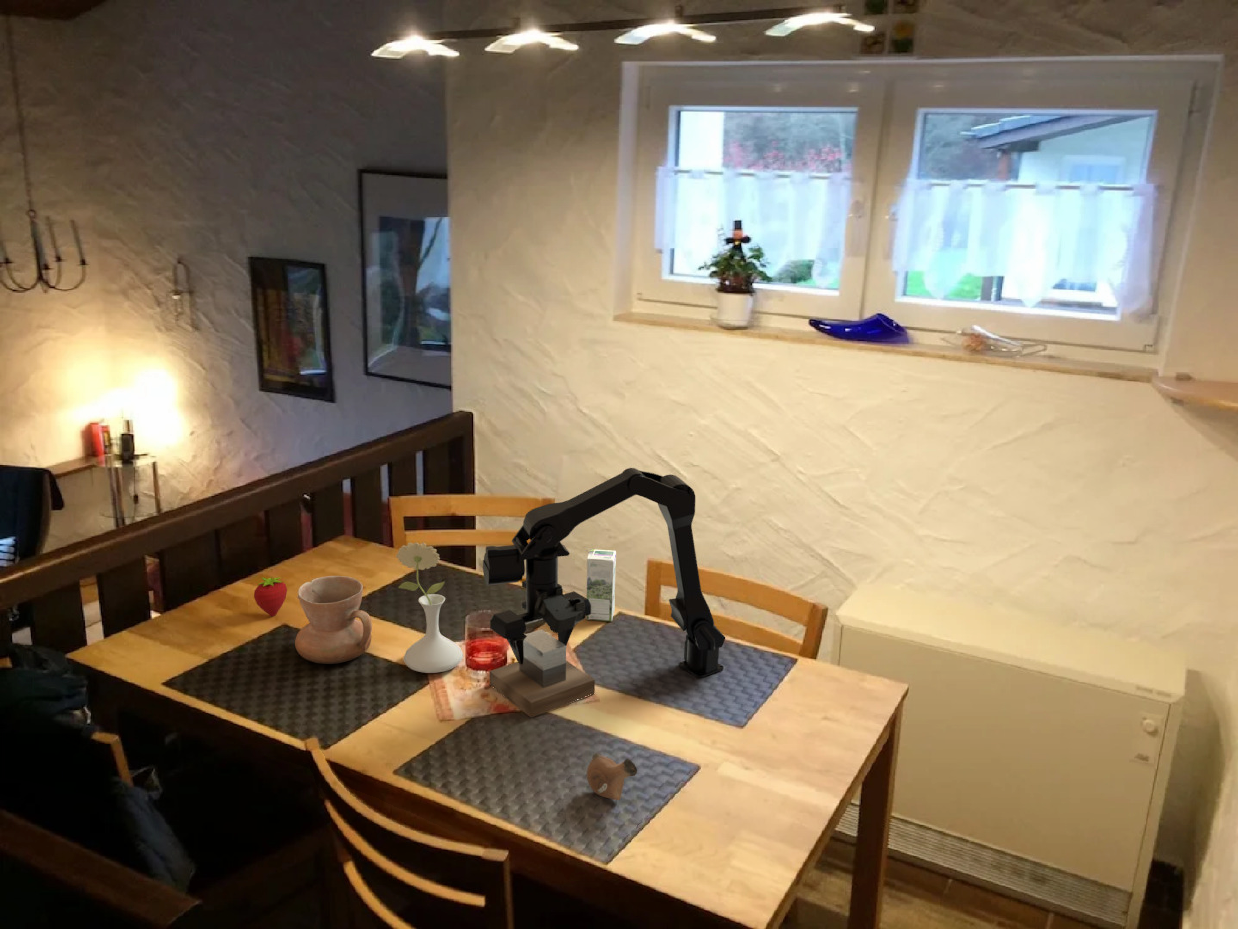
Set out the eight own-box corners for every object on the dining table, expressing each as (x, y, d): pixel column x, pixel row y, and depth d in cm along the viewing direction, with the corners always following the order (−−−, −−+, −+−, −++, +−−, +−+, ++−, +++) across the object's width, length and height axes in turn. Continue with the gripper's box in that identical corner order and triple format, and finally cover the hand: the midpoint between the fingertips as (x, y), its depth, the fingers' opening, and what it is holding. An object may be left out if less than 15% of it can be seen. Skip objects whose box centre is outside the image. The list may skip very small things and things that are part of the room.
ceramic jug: (275, 656, 201) (270, 590, 196) (330, 628, 213) (326, 565, 208) (342, 683, 192) (338, 615, 188) (396, 652, 204) (393, 587, 200)
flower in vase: (473, 656, 203) (471, 538, 196) (445, 683, 193) (442, 559, 185) (415, 645, 207) (410, 529, 200) (384, 671, 197) (379, 549, 189)
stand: (594, 694, 190) (594, 679, 189) (531, 717, 182) (531, 702, 181) (551, 664, 201) (551, 650, 200) (489, 685, 192) (489, 671, 191)
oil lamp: (642, 802, 159) (643, 757, 157) (628, 815, 156) (629, 769, 154) (594, 782, 164) (595, 738, 161) (579, 795, 160) (580, 750, 158)
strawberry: (249, 620, 216) (245, 576, 213) (273, 606, 222) (270, 563, 219) (271, 625, 214) (267, 581, 211) (295, 611, 220) (292, 568, 217)
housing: (519, 670, 192) (519, 636, 190) (541, 663, 195) (541, 629, 193) (543, 688, 186) (543, 653, 184) (565, 680, 189) (566, 645, 187)
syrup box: (614, 611, 225) (616, 549, 220) (612, 622, 219) (613, 559, 215) (589, 609, 225) (590, 547, 221) (585, 621, 219) (586, 557, 215)
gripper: (522, 607, 173) (522, 689, 178) (610, 581, 184) (608, 659, 189) (488, 584, 181) (489, 664, 186) (574, 561, 192) (573, 637, 197)
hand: (541, 656), depth 189 cm, fingers open, 9 cm apart
